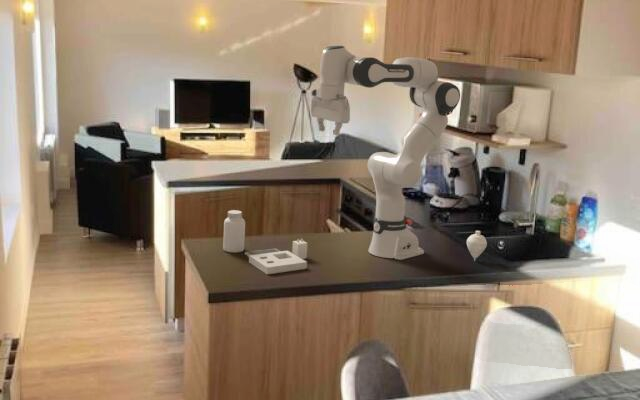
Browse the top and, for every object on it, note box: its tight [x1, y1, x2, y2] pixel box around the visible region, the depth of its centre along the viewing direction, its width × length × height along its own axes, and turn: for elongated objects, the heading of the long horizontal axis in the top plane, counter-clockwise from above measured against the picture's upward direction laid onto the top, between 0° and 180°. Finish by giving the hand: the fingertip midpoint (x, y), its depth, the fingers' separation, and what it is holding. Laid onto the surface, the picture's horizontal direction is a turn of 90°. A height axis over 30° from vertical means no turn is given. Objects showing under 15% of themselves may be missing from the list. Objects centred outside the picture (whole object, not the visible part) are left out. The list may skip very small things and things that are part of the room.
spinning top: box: [466, 230, 488, 262], centre depth 261 cm, size 8×8×12 cm
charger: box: [291, 238, 308, 260], centre depth 253 cm, size 4×4×7 cm
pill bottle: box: [222, 209, 246, 254], centre depth 256 cm, size 8×8×15 cm
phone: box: [244, 248, 281, 258], centre depth 253 cm, size 13×7×2 cm, turn 122°
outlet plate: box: [248, 250, 308, 275], centre depth 243 cm, size 16×14×3 cm
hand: (328, 132), depth 238 cm, fingers open, 8 cm apart
